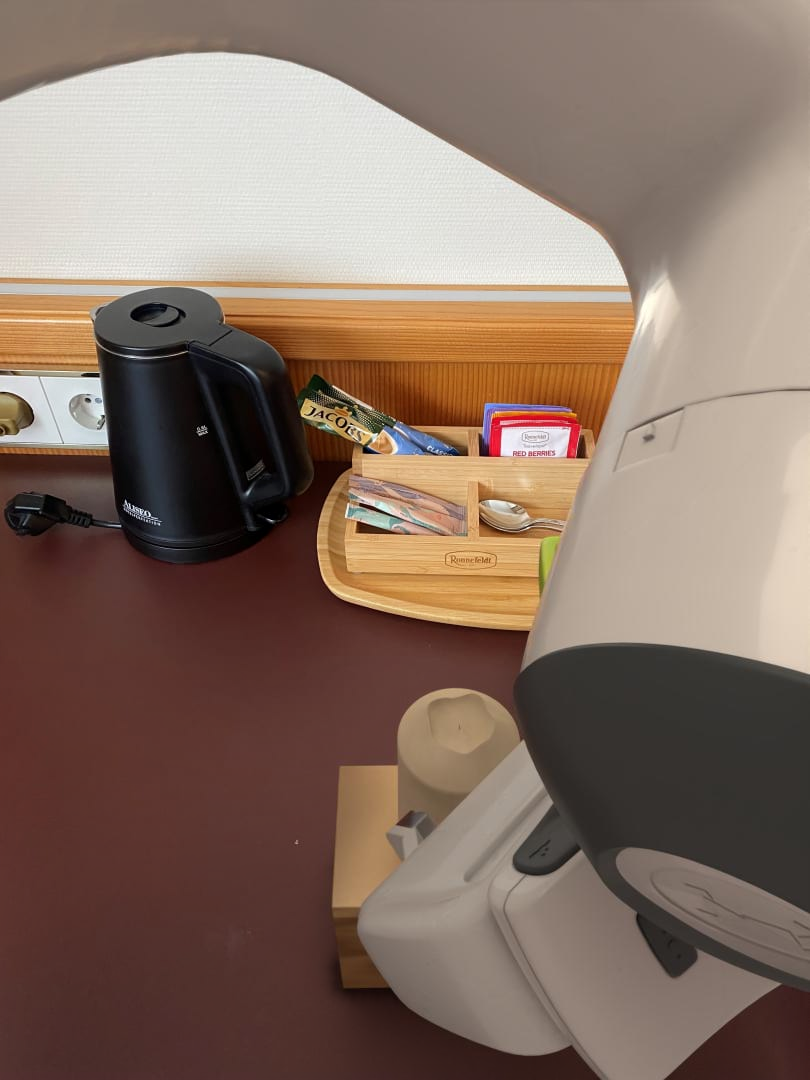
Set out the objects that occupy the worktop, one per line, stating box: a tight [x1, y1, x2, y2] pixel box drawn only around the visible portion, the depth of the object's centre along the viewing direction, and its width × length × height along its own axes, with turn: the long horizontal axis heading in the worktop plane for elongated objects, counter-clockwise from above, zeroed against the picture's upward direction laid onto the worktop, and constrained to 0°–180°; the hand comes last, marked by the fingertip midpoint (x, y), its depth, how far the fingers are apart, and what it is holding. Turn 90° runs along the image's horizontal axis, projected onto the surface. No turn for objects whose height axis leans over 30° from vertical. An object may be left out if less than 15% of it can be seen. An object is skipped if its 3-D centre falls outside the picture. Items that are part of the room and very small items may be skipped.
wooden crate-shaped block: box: [331, 764, 402, 989], centre depth 45 cm, size 12×8×11 cm, turn 91°
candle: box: [396, 687, 521, 828], centre depth 38 cm, size 6×6×10 cm
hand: (476, 765), depth 36 cm, fingers open, 8 cm apart
